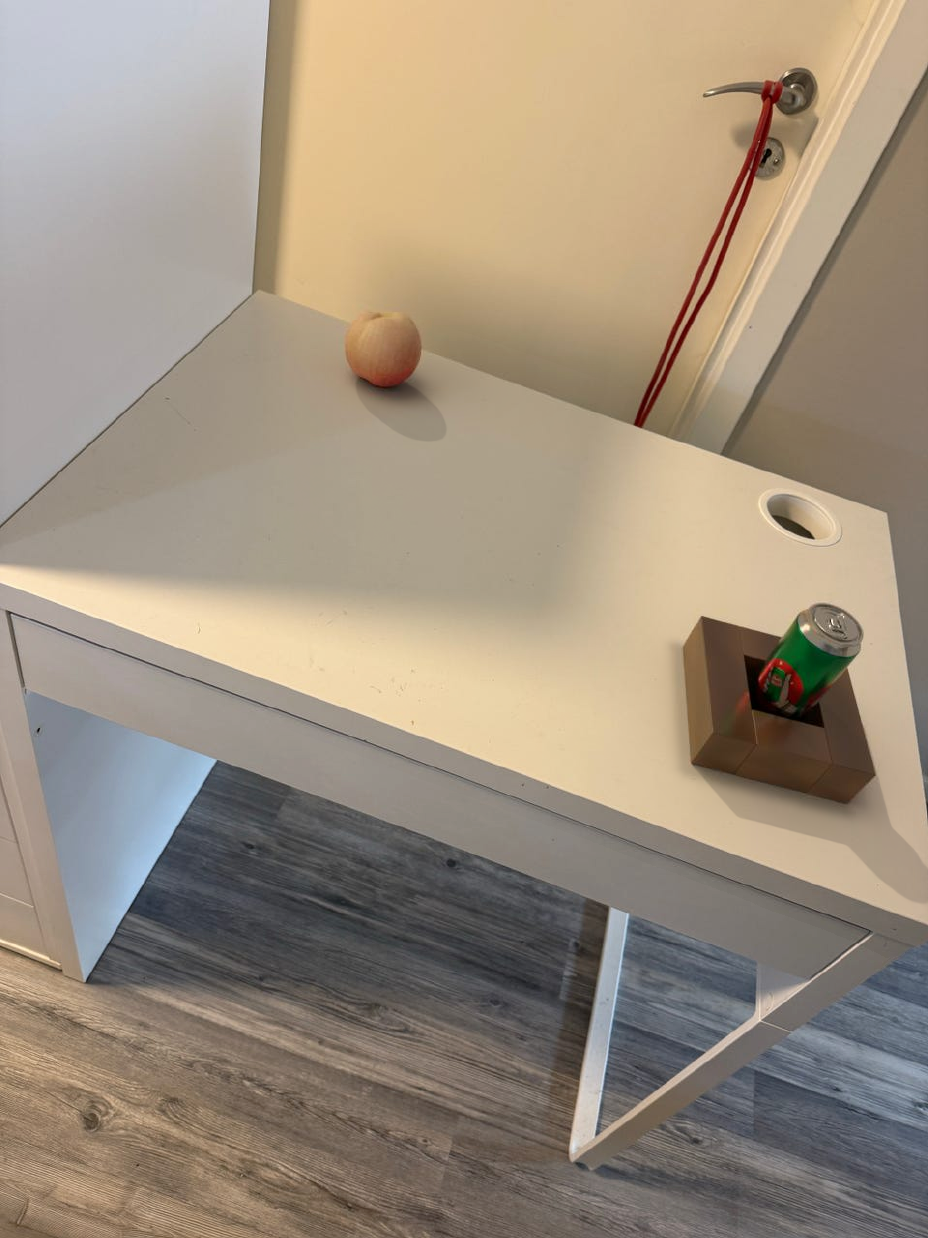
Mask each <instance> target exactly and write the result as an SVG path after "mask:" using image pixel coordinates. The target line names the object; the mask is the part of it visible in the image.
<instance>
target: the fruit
mask: <svg viewBox="0 0 928 1238" xmlns="http://www.w3.org/2000/svg"><path fill="white" fill-rule="evenodd" d="M422 348H423V346H422V339H421V335H420V332H419V329H418V328H417V325H416V324H415V323H414V321H413V319H412V318H411V317H410V316H409V315H407V314H406V313H403V312H400V311H377V312H376V311H375V312H374V311H365V312H362V313H360V314H358V315H357V317H356V318H354V319H353V320H352V322H351V324H350V325H349V327H348V329H347V331H346V334H345V341H344V351H345V358H346V360H347V364H348V366H349V367H350V369H351V371H352V373H354V374H355V375H356V376H358V377H360V378H361V379H365V380H366V381H368V382H369V383H370V384H371V385H374V386H378V387H381V388H382V387H383V388H384V387H385V388H387V387H388V388H389V387H395V386H398V385H399V384H402V383H404V382H405V381H407V379H409V378H410V377H411V376H412V375H413V374H414V372H415V370H416V369H417V367H418V366H419V363H420V361H421V357H422Z"/></svg>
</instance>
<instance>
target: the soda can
mask: <svg viewBox="0 0 928 1238" xmlns="http://www.w3.org/2000/svg"><path fill="white" fill-rule="evenodd" d="M864 636H865V634H864V629H863V627H862V625H861V623H860V622H859V621H858V620H857V619H856V618H855V617H854V616H853V614H851V613H850V612H848V610H846V609H843V608H842V607H841V606H838V605H834V604H831V603H829V602H828V603H827V602H816V603H814V604H811V606H809V608H806V609H804V610H802V611H800V612H799V613H798V614H797V615H796V617H795V618H794V619H793V621H792V622H791V624H790V625H789V627H788V628H787V630H786V631H784V633H783V635H782V636H781V637H782V638H781V639H780V641H779V642H778V644H777V645H776V646H775V648H774V649H773V651H772V652H771V653H770V655H769V656H768V658H767V659H766V660H765V662H764V663H763V665H762V666H761V668H760V669H759V670H758V672H757V673H756V675H755V676H754V677H753V679H752V680H751V682H750V683H749V684H748V688H749V695H750V702H751V709H752V710H756V711H760V712H764V713H768V714H771V715H775V716H779V717H783V718H787V719H791V720H794V721H798V722H803V721H804V720H805V718H806V717H807V716H808V715H809V713H810V712H811V711H812V710H813V709H814V707H815V706H816V705H817V704H818V702H819V701H820V700H821V699H822V698H823V696H824V695H825V694H826V693H827V691H828V690H829V689H830V688H831V687H832V685H833V684H834V683H835V682H836V680H837V679H838V678H839V677H840V676H841V674H842V673H843V672H844V671H845V670H846V668H849V666H850V665H851V664H852V663H853V661H854V660H855V659H856V658H857V656H858V655H859V654H860V653H861V650H862V642H863V640H864Z"/></svg>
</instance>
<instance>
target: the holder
mask: <svg viewBox="0 0 928 1238" xmlns="http://www.w3.org/2000/svg"><path fill="white" fill-rule="evenodd" d="M782 637H783V636H779V635H776V634H771V633H768V632H763V631H760V630H757V629H753V628H749V627H746V626H742V625H737V624H734V623H730V622H726V621H723V620H718V619H715V618H711V617H707V616H703V615H700V617H699V618H698V620H697V622H696V624H695V626H694V628H692V630H691V632H690V634H689V635H688V637H687V638H686V640H685V642H684V644H683V646H682V651H683V652H682V653H683V667H684V668H683V670H684V682H685V695H686V709H687V711H686V712H687V723H688V725H687V726H688V736H689V751H690V752H689V753H690V763H691V764H692V765H696V766H701V767H704V768H708V769H712V770H715V771H720V772H723V773H727V774H731V775H735V776H738V777H743V778H746V779H750V780H755V781H759V782H762V783H765V784H769V785H774V786H777V787H781V788H786V789H788V790H793V791H797V792H801V793H805V794H809V795H813V796H817V797H820V798H823V799H824V798H825V799H827V800H828V799H829V800H832V801H836V802H840V803H844V804H850V802H852V800H853V799H854V798H856V796H857V795H858V794H859V793H860V792H861V791H863V789H864V788H865V787H866V786H867V785H868V784H869V783H870V782H872V780H873V779H874V778H875V777H876V776H877V774H876V770H875V766H874V763H873V758H872V754H871V752H870V748H869V744H868V740H867V736H866V733H865V729H864V725H863V720H862V717H861V714H860V710H859V706H858V702H857V698H856V694H855V691H854V687H853V684H852V680H851V676H850V672H849V669H848V668H849V667H847V668H846V670H845V671H844V672H843V673H842V674H841V676H840V677H839V678H838V679H837V680H836V682H835V683H834V684H833V685H832V687H831V688H830V689H829V690H828V691H827V693H826V694H825V695H824V696H823V698H822V699H821V700H820V701H819V702H818V704H817V705H816V706H815V707H814V709H813V710H812V711H811V712H810V713H809V715H808V716H807V717H806V718H805V720H804V721H803V722H798V721H794V720H791V719H787V718H783V717H779V716H775V715H771V714H768V713H764V712H760V711H756V710H752V709H751V702H750V695H749V688H748V684H749V683H750V682H751V680H752V679H753V677H754V676H755V675H756V673H757V672H758V670H759V669H760V668H761V666H762V665H763V663H764V662H765V660H766V659H767V658H768V656H769V655H770V653H771V652H772V651H773V649H774V648H775V646H776V645H777V644H778V642H779V641H780V639H781V638H782Z"/></svg>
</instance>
